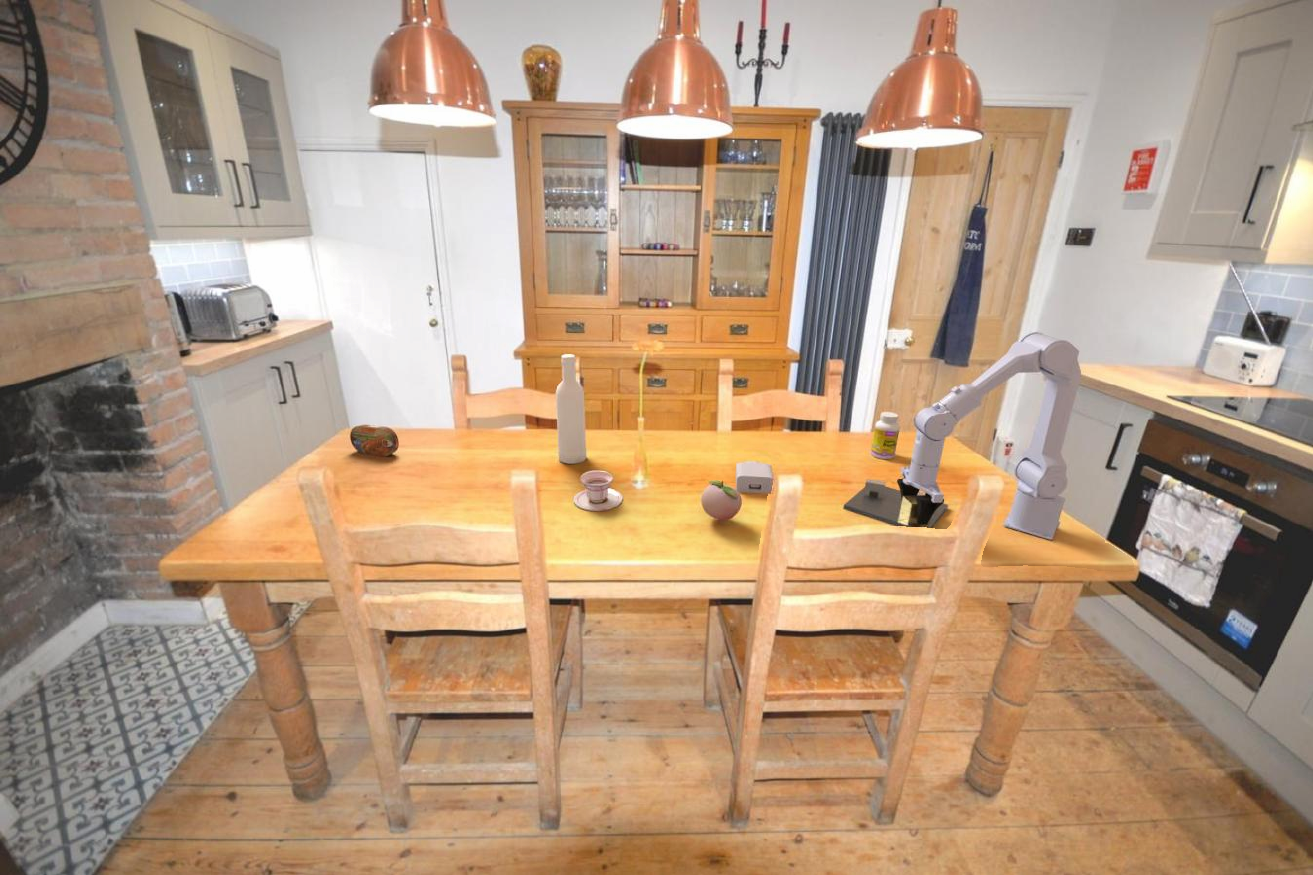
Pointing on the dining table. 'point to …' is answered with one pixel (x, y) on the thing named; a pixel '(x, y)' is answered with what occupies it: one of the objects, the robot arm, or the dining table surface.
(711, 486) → the decorative fruit
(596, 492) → the teacup
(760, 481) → the charger
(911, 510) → the block
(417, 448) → the dining table surface
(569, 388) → the bottle
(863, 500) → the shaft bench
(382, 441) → the tin
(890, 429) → the supplement bottle
